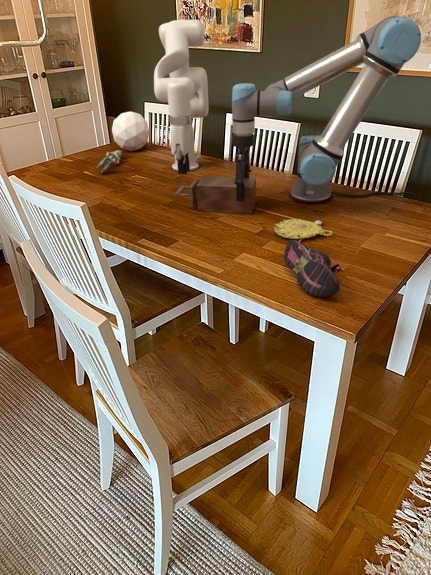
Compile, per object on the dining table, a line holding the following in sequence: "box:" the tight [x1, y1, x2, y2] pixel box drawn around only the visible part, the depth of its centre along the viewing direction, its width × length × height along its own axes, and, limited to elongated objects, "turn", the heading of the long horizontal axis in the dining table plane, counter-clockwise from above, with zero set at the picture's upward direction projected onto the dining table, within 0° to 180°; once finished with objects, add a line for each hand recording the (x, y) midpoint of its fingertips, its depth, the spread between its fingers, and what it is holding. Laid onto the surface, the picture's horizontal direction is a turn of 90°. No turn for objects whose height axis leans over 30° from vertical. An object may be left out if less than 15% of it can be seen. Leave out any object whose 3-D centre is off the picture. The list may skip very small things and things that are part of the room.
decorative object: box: [273, 218, 333, 243], centre depth 145 cm, size 21×2×20 cm
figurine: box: [96, 150, 123, 174], centre depth 213 cm, size 7×8×30 cm
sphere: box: [111, 111, 150, 152], centre depth 232 cm, size 19×20×20 cm
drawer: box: [174, 178, 200, 208], centre depth 165 cm, size 25×9×8 cm, turn 77°
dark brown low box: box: [196, 175, 257, 215], centre depth 164 cm, size 20×10×10 cm, turn 77°
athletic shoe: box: [283, 239, 344, 298], centre depth 119 cm, size 11×22×12 cm
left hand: (184, 171), depth 163 cm, fingers open, 3 cm apart
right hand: (242, 195), depth 163 cm, fingers closed on dark brown low box, 10 cm apart
